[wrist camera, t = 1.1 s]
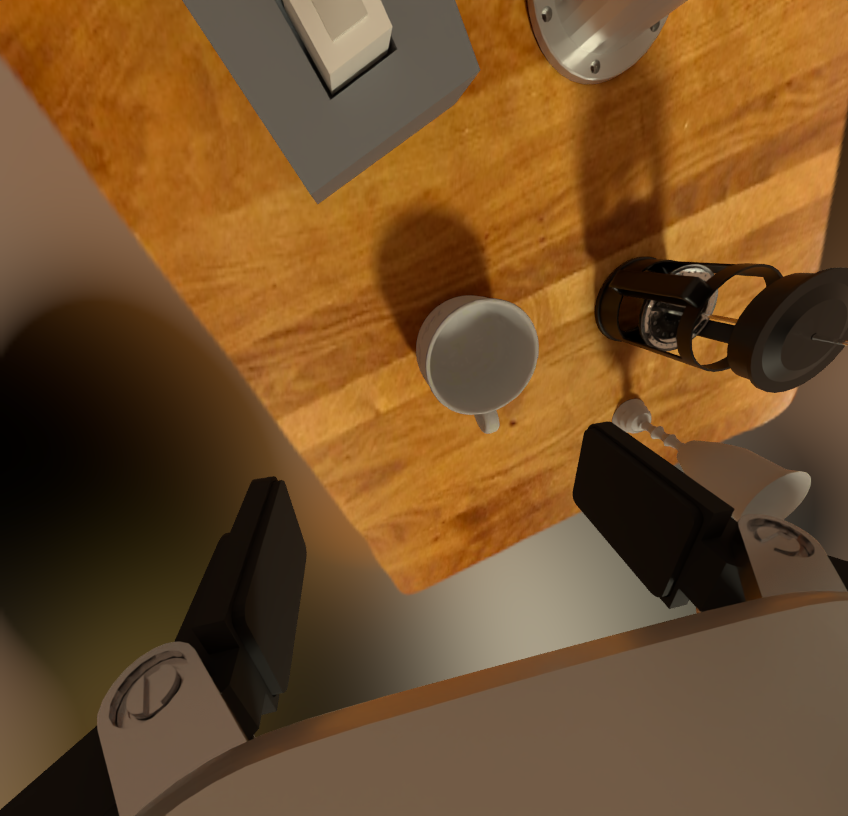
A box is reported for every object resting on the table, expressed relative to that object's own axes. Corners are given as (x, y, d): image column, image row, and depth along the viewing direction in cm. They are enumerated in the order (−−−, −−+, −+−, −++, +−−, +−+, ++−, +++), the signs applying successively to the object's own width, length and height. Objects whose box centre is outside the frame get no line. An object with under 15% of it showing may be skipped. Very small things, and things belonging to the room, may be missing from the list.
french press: (686, 283, 39) (1050, 323, 19) (635, 354, 42) (902, 455, 22) (620, 231, 35) (997, 213, 15) (568, 315, 38) (822, 395, 18)
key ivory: (345, -38, 20) (344, -86, 17) (387, 53, 22) (392, 24, 19) (285, 9, 20) (274, -30, 17) (332, 95, 22) (329, 73, 19)
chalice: (627, 443, 49) (762, 539, 33) (596, 429, 46) (725, 525, 30) (661, 401, 46) (823, 482, 30) (629, 383, 44) (788, 462, 28)
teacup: (407, 292, 33) (423, 304, 26) (508, 284, 35) (549, 294, 28) (414, 414, 39) (429, 451, 32) (500, 403, 41) (531, 436, 34)
